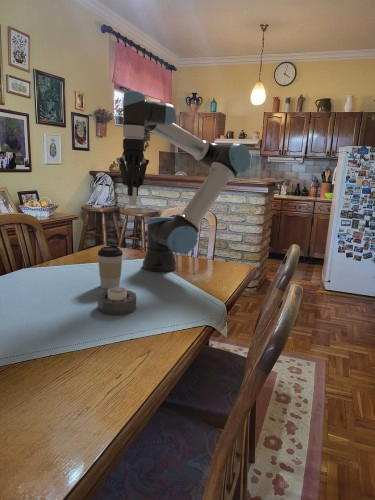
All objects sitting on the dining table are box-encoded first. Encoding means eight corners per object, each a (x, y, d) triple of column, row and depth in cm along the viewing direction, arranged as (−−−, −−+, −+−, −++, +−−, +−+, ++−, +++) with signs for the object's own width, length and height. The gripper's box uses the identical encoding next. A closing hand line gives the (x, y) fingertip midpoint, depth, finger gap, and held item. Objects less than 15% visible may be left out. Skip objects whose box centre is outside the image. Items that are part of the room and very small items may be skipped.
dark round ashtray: (122, 297, 123) (122, 287, 122) (143, 309, 115) (143, 297, 114) (91, 306, 115) (90, 294, 114) (110, 318, 107) (110, 306, 106)
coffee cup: (116, 291, 129) (117, 251, 126) (93, 288, 131) (93, 248, 127) (126, 283, 138) (126, 245, 134) (104, 281, 139) (103, 243, 136)
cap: (120, 302, 119) (120, 285, 118) (130, 308, 115) (130, 290, 113) (104, 307, 115) (104, 288, 114) (114, 313, 111) (114, 294, 109)
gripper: (142, 140, 134) (141, 203, 140) (112, 137, 125) (112, 204, 131) (154, 140, 129) (152, 205, 134) (123, 136, 120) (123, 206, 125)
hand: (132, 204), depth 132 cm, fingers closed
